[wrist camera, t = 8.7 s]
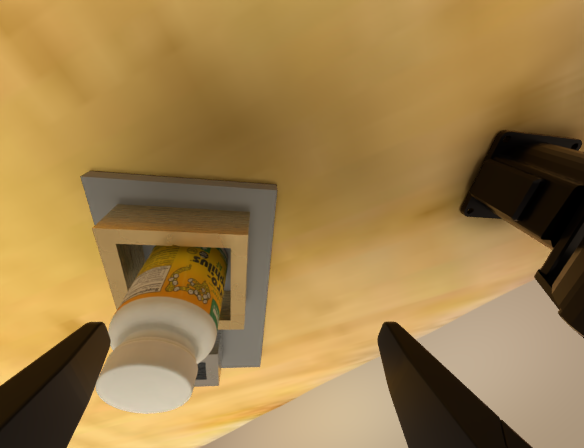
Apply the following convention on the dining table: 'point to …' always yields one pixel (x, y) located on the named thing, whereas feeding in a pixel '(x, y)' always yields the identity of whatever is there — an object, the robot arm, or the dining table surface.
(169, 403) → the supplement bottle
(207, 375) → the steel collar
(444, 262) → the dining table surface
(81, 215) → the dining table surface
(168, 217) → the square wooden frame
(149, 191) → the fitting board
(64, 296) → the dining table surface
